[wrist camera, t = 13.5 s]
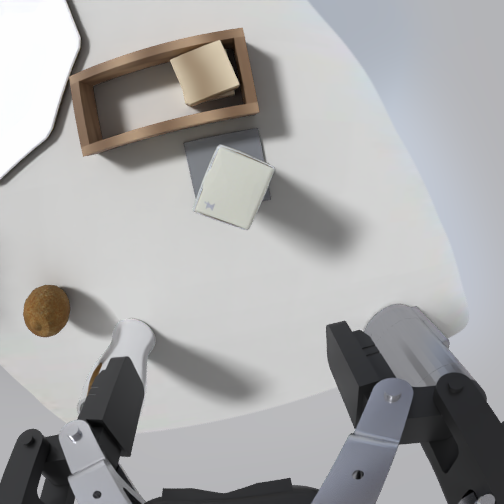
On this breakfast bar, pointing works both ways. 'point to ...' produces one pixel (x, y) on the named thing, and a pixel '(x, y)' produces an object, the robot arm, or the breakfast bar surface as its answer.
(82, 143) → the wooden tray
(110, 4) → the breakfast bar surface
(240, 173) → the box
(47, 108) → the plate
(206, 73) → the offcut
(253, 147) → the mat
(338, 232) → the breakfast bar surface
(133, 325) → the beer glass
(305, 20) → the breakfast bar surface
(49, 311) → the fruit
